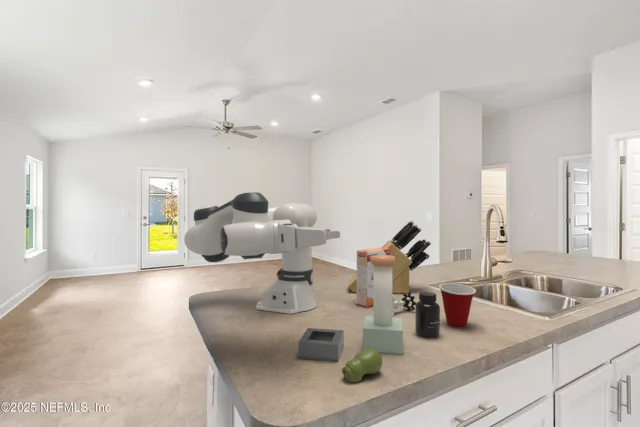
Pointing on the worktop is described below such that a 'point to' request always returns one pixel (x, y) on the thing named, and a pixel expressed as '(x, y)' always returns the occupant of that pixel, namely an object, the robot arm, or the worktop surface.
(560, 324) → the worktop surface
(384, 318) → the end plug
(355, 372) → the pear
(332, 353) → the block
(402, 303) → the valve
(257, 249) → the robot arm
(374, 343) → the parts stand
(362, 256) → the cracker box
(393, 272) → the knife block
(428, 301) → the supplement bottle
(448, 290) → the plastic cup
